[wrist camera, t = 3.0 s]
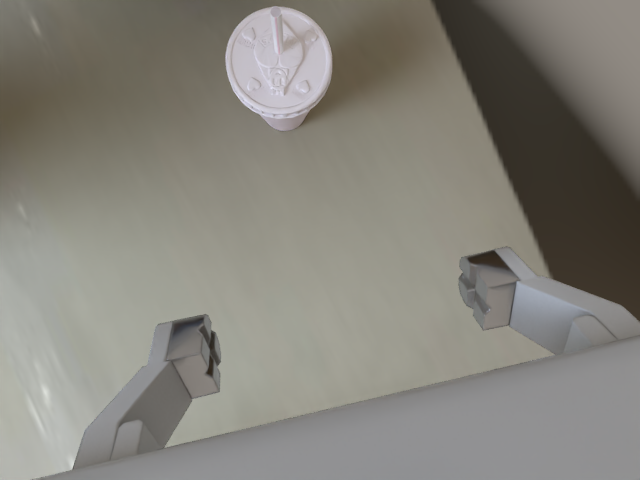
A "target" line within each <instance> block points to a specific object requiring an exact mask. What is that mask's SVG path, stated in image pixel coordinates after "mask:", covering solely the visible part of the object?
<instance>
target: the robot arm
mask: <svg viewBox="0 0 640 480" xmlns="http://www.w3.org/2000/svg"><path fill="white" fill-rule="evenodd" d="M459 267H460V269H461V270H462V272H463V273H462V274H461V276H460V277H459V290H460V294H461V297H462V299H463V301H464V302H465V304H466V306H468V307H470V308H472V309H473V316H474V318H475V319H476V321H477V322H478V324H479V325H480V327H481V328H482V330H483V331H484V330H489V329H493V328H498V327H503V326H508V325H509V327H511V328H513V329H514V330H516V331H518V332H519V333H521V334H522V335H524V336H526V337H527V338H529V339H531V340H532V341H534V342H536V343H537V344H539V345H541V346H542V347H544V348H546V349H547V350H549V351H550V352H552V353H554V354H555V355H553V356H549V357H545V358H541V359H536V360H532V361H528V362H524V363H520V364H515V365H511V366H507V367H503V368H499V369H494V370H490V371H486V372H482V373H478V374H473V375H469V376H465V377H461V378H457V379H452V380H448V381H444V382H440V383H435V384H431V385H427V386H423V387H419V388H414V389H410V390H406V391H402V392H398V393H393V394H389V395H385V396H381V397H377V398H372V399H368V400H364V401H360V402H356V403H351V404H347V405H343V406H339V407H335V408H330V409H326V410H322V411H318V412H314V413H309V414H305V415H301V416H297V417H293V418H288V419H284V420H280V421H276V422H272V423H267V424H263V425H259V426H255V427H251V428H246V429H242V430H238V431H234V432H230V433H225V434H221V435H217V436H213V437H209V438H204V439H200V440H196V441H192V442H188V443H183V444H179V445H175V446H171V447H167V448H164V447H165V445H166V443H167V442H168V440H169V438H170V437H171V435H172V434H173V432H174V430H175V429H176V427H177V425H178V424H179V422H180V420H181V419H182V417H183V415H184V414H185V412H186V410H187V409H188V407H189V405H190V404H191V402H192V399H194V398H198V397H202V396H206V395H210V394H213V393H217V392H220V372H219V369H218V367H217V366H218V365H219V364H220V362H221V351H220V344H219V340H218V337H217V335H216V332H214V331H212V330H211V321H210V318H209V316H208V315H207V314H204V315H199V316H194V317H189V318H184V319H179V320H174V321H170V322H165V323H160V324H158V325H157V326H156V328H155V332H154V337H153V341H152V346H151V350H150V355H149V360H148V364H147V366H144V367H142V368H141V369H140V370H139V371H138V372H137V373H136V374H135V376H134V377H133V378H132V379H131V380H130V381H129V382H128V383H127V384H126V386H125V387H124V388H123V389H122V390H121V391H120V392H119V393H118V394H117V395H116V397H115V398H114V399H113V400H112V401H111V402H110V403H109V404H108V405H107V407H106V408H105V409H104V410H103V411H102V412H101V413H100V414H99V415H98V416H97V418H96V419H95V420H94V421H93V422H92V423H91V424H90V425H89V426H88V428H87V429H86V430H85V431H84V435H83V438H82V441H81V444H80V447H79V450H78V453H77V456H76V460H75V463H74V466H73V469H72V470H70V471H66V472H62V473H57V474H53V475H49V476H45V477H41V478H36V479H32V480H640V322H639V321H638V320H637V319H636V318H635V317H634V316H633V315H631V314H630V313H629V312H628V311H627V310H626V309H625V308H624V307H623V306H621V305H619V304H616V303H613V302H611V301H608V300H605V299H603V298H600V297H597V296H595V295H592V294H590V293H587V292H584V291H581V290H579V289H576V288H573V287H571V286H568V285H565V284H563V283H560V282H558V281H555V280H552V279H550V278H547V277H544V276H539V277H538V276H537V275H536V274H535V273H534V272H533V271H532V270H531V269H530V268H529V267H528V266H527V265H526V264H525V263H524V262H523V261H522V259H521V258H520V257H519V256H518V255H517V254H516V253H515V252H514V251H513V250H512V249H511V248H510V247H508V246H506V247H502V248H497V249H493V250H491V251H486V252H481V253H477V254H473V255H468V256H464V257H461V259H460V266H459Z"/></svg>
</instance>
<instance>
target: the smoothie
mask: <svg viewBox="0 0 640 480" xmlns="http://www.w3.org/2000/svg"><path fill="white" fill-rule="evenodd" d="M226 69H227V73H228V78H229V81H230V84H231V86H232V89H233V91H234V92H235V94H236V95H237V97H238V98H239V99H240V101H241V102H242V103H243V104H244V105H246V106H247V107H248V108H249V109H251V110H252V111H254V112H256V113H258V114H260V115H261V117H262V118H263V119H264V120H265V121H266V122H267V123H268V124H269V125H270V126H271V127H273V128H274V129H277V130H280V131H289V130H293V129H295V128H297V127H298V126H299V125H300V124H301V123H302V122H303V121H304V119H305V117H306V116H307V114H308V112H309V110H310V109H312V108H313V107H314V106H316V105H317V104H318V102H319V101H320V100H321V99H322V97H323V96H324V95H325V93H326V91H327V89H328V86H329V84H330V81H331V75H332V52H331V47H330V44H329V41H328V39H327V37H326V35H325V33H324V32H323V30H322V29H321V28H320V26H319V25H318V24H317V23H316V22H315V21H314V20H313V19H311V18H310V17H309V16H307V15H306V14H304V13H302V12H300V11H297V10H295V9H291V8H287V7H277V6H274V7H269V8H264V9H261V10H258V11H256V12H254V13H252V14H250V15H249V16H247V17H246V18H245V19H244V20H242V21H241V22H240V23H239V24H238V26H237V27H236V28H235V30H234V31H233V33H232V35H231V37H230V39H229V42H228V45H227V49H226Z"/></svg>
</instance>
